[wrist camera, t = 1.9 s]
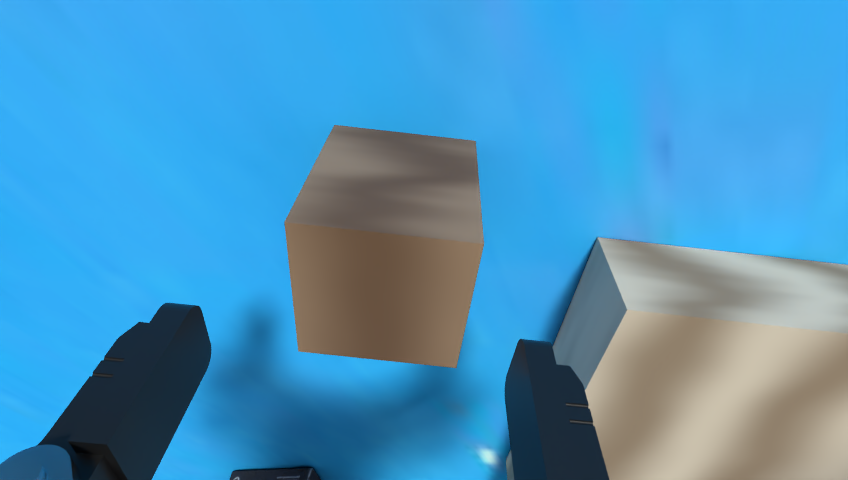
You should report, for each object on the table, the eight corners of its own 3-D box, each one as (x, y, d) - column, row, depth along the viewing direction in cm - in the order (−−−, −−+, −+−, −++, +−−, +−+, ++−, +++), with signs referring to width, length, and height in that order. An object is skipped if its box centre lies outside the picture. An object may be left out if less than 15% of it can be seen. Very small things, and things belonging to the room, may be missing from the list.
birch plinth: (1034, 285, 19) (1153, 366, 16) (782, 489, 30) (822, 561, 26) (597, 237, 18) (627, 309, 15) (505, 461, 29) (511, 530, 26)
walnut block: (475, 140, 16) (483, 243, 12) (455, 250, 19) (456, 367, 15) (334, 124, 16) (284, 221, 11) (337, 236, 19) (298, 351, 14)
